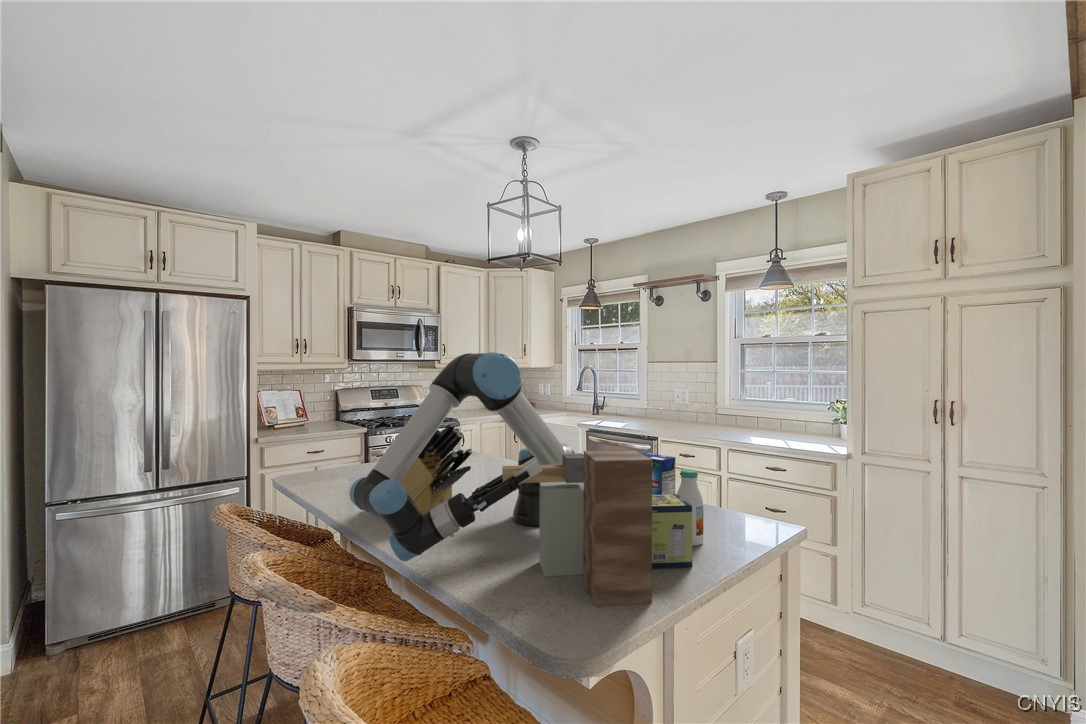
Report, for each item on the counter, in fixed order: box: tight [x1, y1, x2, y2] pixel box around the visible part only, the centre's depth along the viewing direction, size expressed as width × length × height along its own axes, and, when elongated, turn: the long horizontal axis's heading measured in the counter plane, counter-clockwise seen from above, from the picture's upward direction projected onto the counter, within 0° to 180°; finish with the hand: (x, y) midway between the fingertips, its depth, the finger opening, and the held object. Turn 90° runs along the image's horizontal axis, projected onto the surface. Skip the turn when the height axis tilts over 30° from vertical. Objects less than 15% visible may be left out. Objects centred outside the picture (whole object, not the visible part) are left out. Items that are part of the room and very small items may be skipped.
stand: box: [582, 449, 653, 608], centre depth 112 cm, size 12×12×30 cm
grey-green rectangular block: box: [538, 482, 584, 578], centre depth 125 cm, size 9×13×20 cm
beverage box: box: [640, 452, 677, 495], centre depth 155 cm, size 7×11×22 cm, turn 40°
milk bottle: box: [675, 468, 704, 547], centre depth 144 cm, size 8×8×20 cm
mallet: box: [501, 452, 584, 483], centre depth 125 cm, size 6×20×6 cm, turn 98°
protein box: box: [652, 493, 693, 570], centre depth 130 cm, size 10×16×16 cm
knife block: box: [399, 421, 473, 514], centre depth 169 cm, size 11×35×31 cm, turn 61°
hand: (538, 463), depth 125 cm, fingers closed on mallet, 3 cm apart
